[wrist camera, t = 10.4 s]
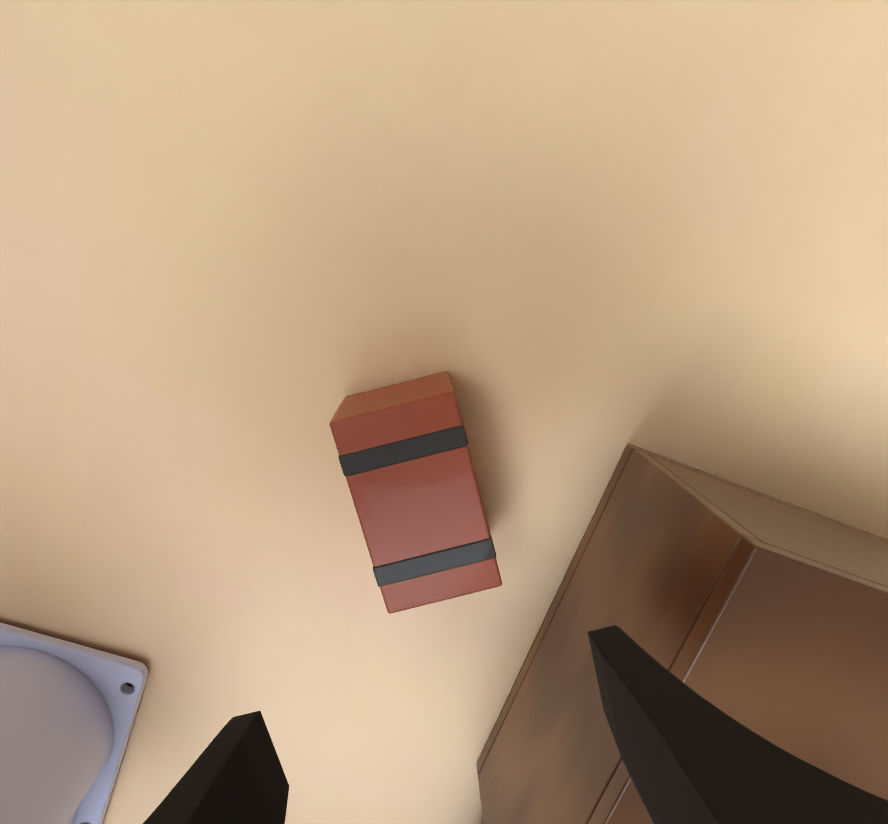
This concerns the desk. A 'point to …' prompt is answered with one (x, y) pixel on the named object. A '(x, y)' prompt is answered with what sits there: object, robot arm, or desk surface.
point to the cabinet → (699, 641)
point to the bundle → (415, 492)
